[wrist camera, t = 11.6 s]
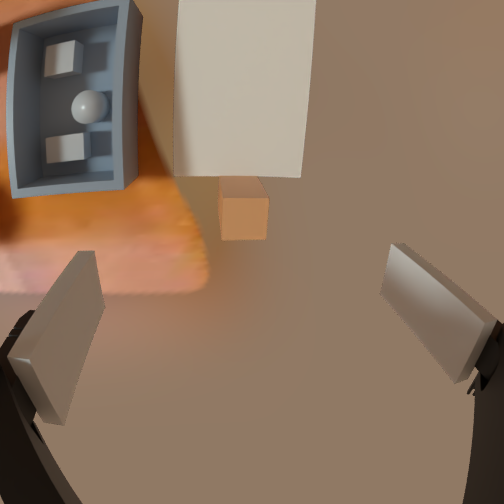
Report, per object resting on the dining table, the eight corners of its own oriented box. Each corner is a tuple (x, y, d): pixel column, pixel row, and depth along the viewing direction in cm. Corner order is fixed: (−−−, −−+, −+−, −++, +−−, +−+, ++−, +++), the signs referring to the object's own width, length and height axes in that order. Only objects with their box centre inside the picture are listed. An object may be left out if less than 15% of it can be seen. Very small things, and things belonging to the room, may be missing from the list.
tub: (41, 34, 21) (13, 23, 15) (142, 16, 22) (130, -5, 17) (40, 183, 27) (12, 198, 22) (138, 175, 29) (124, 189, 23)
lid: (182, -11, 21) (175, -41, 14) (309, -2, 23) (342, -24, 16) (176, 203, 32) (169, 241, 25) (291, 203, 33) (315, 239, 26)
